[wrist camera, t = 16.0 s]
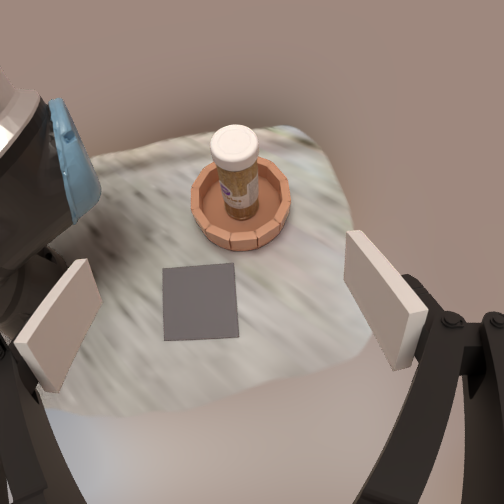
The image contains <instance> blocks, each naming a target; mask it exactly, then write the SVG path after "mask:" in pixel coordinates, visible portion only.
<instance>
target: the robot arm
mask: <svg viewBox="0 0 504 504" xmlns="http://www.w3.org/2000/svg"><path fill="white" fill-rule="evenodd" d="M100 195H101V185H100V182H99V179H98V177H97V174H96V172H95V170H94V167H93V165H92V163H91V161H90V158H89V156H88V154H87V152H86V149H85V147H84V145H83V143H82V141H81V138H80V136H79V134H78V131H77V129H76V127H75V125H74V122H73V120H72V118H71V115H70V113H69V111H68V109H67V107H66V105H65V103H64V101H63V99H61V98H56V99H55V100H52V99H51V100H50V101H49V102H48V105H47V104H45V102H44V101H43V99H42V98H41V96H40V95H39V93H38V92H37V91H36V90H31V89H16V88H15V87H13V86H12V84H11V83H10V81H9V79H8V78H7V76H6V75H5V73H4V72H3V70H2V68H1V67H0V331H1V332H2V333H4V334H5V335H6V336H8V337H9V338H10V339H12V341H11V343H10V344H9V346H8V345H7V344H6V342H5V340H4V338H3V337H2V335H1V333H0V504H9V499H8V490H7V481H8V484H9V488H10V490H11V494H12V497H13V503H11V504H87V503H86V501H85V499H84V497H83V496H82V494H81V492H80V490H79V488H78V486H77V484H76V482H75V480H74V478H73V476H72V474H71V472H70V470H69V468H68V466H67V464H66V462H65V459H64V457H63V455H62V453H61V451H60V448H59V446H58V443H57V441H56V439H55V436H54V434H53V431H52V429H51V426H50V423H49V421H48V418H47V415H46V412H45V409H44V406H43V403H42V400H41V397H40V394H39V392H38V391H37V389H36V386H37V384H38V382H39V384H40V385H41V386H42V388H43V389H44V391H45V392H53V393H59V391H60V388H61V386H62V384H63V382H64V379H65V377H66V375H67V373H68V371H69V368H70V366H71V364H72V362H73V360H74V358H75V356H76V354H77V352H78V350H79V347H80V345H81V343H82V341H83V339H84V337H85V335H86V333H87V331H88V329H89V328H90V326H91V324H92V322H93V320H94V318H95V316H96V314H97V312H98V310H99V308H100V307H101V305H102V303H103V302H102V299H101V296H100V294H99V291H98V288H97V285H96V283H95V280H94V277H93V274H92V271H91V268H90V265H89V262H88V259H78V260H75V261H74V262H73V264H72V265H71V266H70V267H69V268H68V269H67V266H66V264H65V262H64V260H63V259H62V257H61V256H60V255H59V254H58V253H57V252H56V251H55V250H53V249H51V248H50V247H48V246H47V244H48V243H50V242H51V241H52V240H53V239H55V238H56V237H57V236H58V235H60V234H61V233H62V232H64V231H65V230H66V229H67V228H69V227H70V226H71V225H75V224H76V223H77V221H78V219H79V218H80V217H81V216H83V215H84V214H85V213H86V212H87V211H89V210H90V209H91V208H92V207H94V206H95V205H96V203H97V202H98V201H99V198H100ZM344 281H345V283H346V285H347V287H348V288H349V290H350V292H351V294H352V295H353V297H354V299H355V301H356V303H357V304H358V306H359V308H360V310H361V312H362V313H363V315H364V317H365V319H366V321H367V323H368V324H369V326H370V328H371V330H372V332H373V334H374V336H375V337H376V339H377V341H378V343H379V345H380V347H381V349H382V351H383V352H384V355H385V356H386V359H387V360H388V362H389V364H390V366H391V368H392V370H393V371H397V370H401V369H405V368H408V367H410V366H411V364H412V361H413V358H414V356H415V357H416V359H417V361H418V363H419V364H418V367H417V369H416V372H415V375H414V377H413V380H412V383H411V386H410V389H409V391H408V394H407V396H406V399H405V401H404V404H403V406H402V409H401V411H400V413H399V416H398V418H397V420H396V422H395V425H394V427H393V429H392V431H391V433H390V435H389V438H388V440H387V442H386V444H385V446H384V448H383V450H382V452H381V454H380V456H379V458H378V460H377V462H376V464H375V465H374V467H373V469H372V471H371V473H370V475H369V477H368V478H367V480H366V482H365V484H364V485H363V487H362V489H361V490H360V492H359V494H358V495H357V497H356V499H355V500H354V502H353V504H418V502H419V499H420V497H421V495H422V493H423V490H424V488H425V486H426V483H427V480H428V478H429V475H430V473H431V471H432V468H433V465H434V462H435V460H436V457H437V454H438V451H439V448H440V445H441V442H442V439H443V436H444V432H445V429H446V426H447V422H448V419H449V415H450V411H451V408H452V404H453V400H454V396H455V391H456V387H457V382H458V377H459V376H461V375H462V381H463V394H464V413H465V460H464V461H465V462H464V478H463V490H462V501H461V504H504V314H501V313H499V312H488V313H486V314H485V315H484V317H483V319H482V322H481V323H466V321H465V320H464V318H463V317H462V316H460V315H459V314H457V313H454V312H451V311H444V310H443V309H442V307H441V306H440V305H439V304H438V303H437V301H436V300H435V299H434V298H433V297H432V296H431V294H429V293H428V291H427V290H426V289H425V288H424V287H423V285H422V284H421V283H420V282H419V281H418V280H417V279H416V278H414V277H412V276H411V275H409V274H405V275H400V274H399V273H398V272H397V270H396V269H395V268H394V267H393V266H392V265H391V264H390V262H389V261H388V260H387V259H386V258H385V257H384V255H383V254H382V253H381V252H380V251H379V250H378V249H377V248H376V246H375V245H374V244H373V243H372V242H371V241H370V240H369V239H368V237H367V236H366V235H365V234H364V233H363V232H362V231H361V230H356V231H346V249H345V266H344ZM6 478H7V479H6Z"/></svg>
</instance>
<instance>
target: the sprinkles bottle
mask: <svg viewBox="0 0 504 504" xmlns="http://www.w3.org/2000/svg"><path fill="white" fill-rule="evenodd" d="M210 149H211V155H212V158H213V161H214V162H215V164H216V167H217V172H218V176H219V183H220V188H221V192H222V196H223V199H224V207H225V210H226V212H227V214H228V215H229V216H230V217H232V218H234V219H237V220H245V219H248V218H251V217H252V216H253V215H255V214H256V212H257V211H258V208H259V200H258V193H259V190H258V166H257V158H258V154H259V144H258V138H257V136H256V134H255V133H254V132H253V131H252V130H251V129H250V128H248V127H246V126H242V125H229V126H226V127H223V128H221V129H219V130H218V131H217V132H216V133H215V134H214V135H213V137H212V139H211V142H210Z"/></svg>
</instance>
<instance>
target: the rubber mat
mask: <svg viewBox="0 0 504 504" xmlns="http://www.w3.org/2000/svg"><path fill="white" fill-rule="evenodd" d="M163 322H164V341H169V340H196V339H215V338H231V337H239V330H238V317H237V303H236V289H235V275H234V263H225V264H213V265H201V266H189V267H176V268H164V269H163Z"/></svg>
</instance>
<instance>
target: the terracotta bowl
mask: <svg viewBox="0 0 504 504" xmlns="http://www.w3.org/2000/svg"><path fill="white" fill-rule="evenodd" d="M257 166H258V190H259V193H258V200H259V208H258V211H257V212H256V214H255V215H253V216H252V217H251V218H248V219H245V220H237V219H234V218H232V217H230V216H229V215H228V214H227V212H226V210H225V207H224V199H223V196H222V192H221V188H220V183H219V176H218V172H217V167H216V164H215V162H212V163H211V164H209V165H207V166H206V167H204V168H205V169H204V168H203V169H202V171H201V172H200V174H199V176H198V177H197V179H196V180H195V182H194V184H193V185H192V188H191V211H192V213H193V216H194V218H195V220H196V222H197V223H198V225H199V226H200V228H201V230H202V232H203V233H204V234H205V236H206V237H207V238H208V239H209V240H210V241H212V242H213V243H214V244H216V245H218V246H220V247H222V248H225V249H228V250H233V251H248V250H253V249H257V248H259V247H262V246H264V245H266V244H267V243H269V242H270V241H272V240H273V239H274V238H275V237H276V236H277V235H278V234H279V233H280V231H281V229H282V228H283V226H284V224H285V221H286V218H287V216H288V214H289V209H290V204H291V197H290V191H289V184H288V180H287V178H286V177H285V175H284V174H283V173H282V172H281V171H280V170H279V169H278V168H277V166H276V165H275V164H274V163H273V162H272V163H271V161H269V160H267V159H264V158H261V157H258V158H257Z"/></svg>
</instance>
